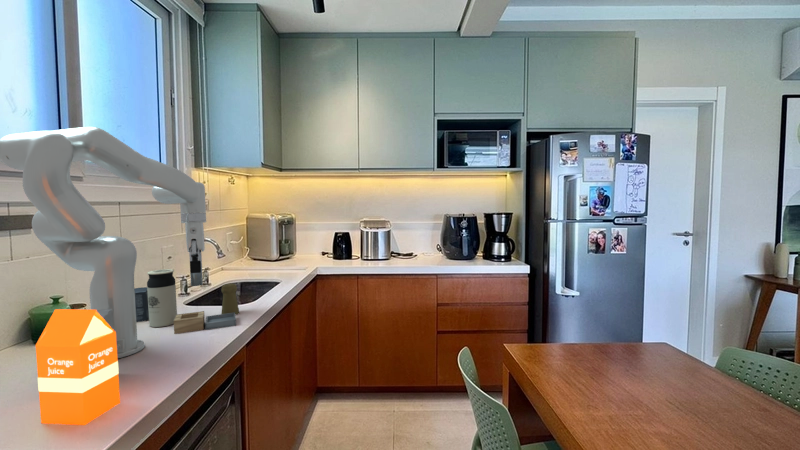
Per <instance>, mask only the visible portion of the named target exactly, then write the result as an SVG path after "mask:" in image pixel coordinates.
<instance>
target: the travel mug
mask: <svg viewBox="0 0 800 450" xmlns="http://www.w3.org/2000/svg"><path fill="white" fill-rule="evenodd" d="M174 272H175V270H174V269H172V268H170V269H168V268H167V269H156V270H150V271H148V272H147V276H148V280H147V282H146V287H147V292H148V310H149V319H148V324H149V327H152V328H163V327H169V326H172V325H174V319H175V317H176V315H177V314H178V310H177V309H178V304H177V288H176V285H177V284H176V278H175V277H174V276H173V275H174Z"/></svg>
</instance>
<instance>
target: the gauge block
mask: <svg viewBox="0 0 800 450" xmlns="http://www.w3.org/2000/svg"><path fill="white" fill-rule="evenodd" d="M205 320H206V317H205V310H202V311H194V312H185V313H177V315H176V317H175V319H174V324H173V333H174V335H176V334H182V333H183V334H184V333H189V332H190V333H191V332H195V331H196V332H197V331H203V330H205Z"/></svg>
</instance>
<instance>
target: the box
mask: <svg viewBox="0 0 800 450" xmlns="http://www.w3.org/2000/svg"><path fill="white" fill-rule="evenodd" d="M134 291H135V307H136V323H137V322H138V323H140V322H148V321H149V310H148V292H147V286H146V287H136V288H135V287H134Z"/></svg>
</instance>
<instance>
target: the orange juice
mask: <svg viewBox="0 0 800 450" xmlns="http://www.w3.org/2000/svg"><path fill="white" fill-rule="evenodd" d="M34 347H35V354H36V356H35V357H36V368H37V371H36V372H37V388H38V389H37V390H38V397H39V411H40V423H41V424H46V425H72V426H73V425H74V426H86V425H88V424H89V423H91V422H92V421H93V420H95V419H97V418H99V417H101V416H102V415H103V414H105V413H107V412H109V411H110V410H111V409H113V408H114V407H116V406H118V405H119V404H121V395H120V393H121V392H120V377H119V373H120V372H119V371H120V369H119V358H117V342H116V332H115V331H114V330H113V329H112V328H111V327H110V326H109V324H108V323H107V322H106V321H105V320H104V319H103V318H102V317H101V315H100V314H99V313H98V312H97V311H96V310H91V309H78V308H77V309H71V308H70V309H69V308H68V309H67V308H65V309H64V308H62V309H60V308H59V309H55V308H54V311H53V313H52V315H51V316H50V318H49V320H48V321H47V323H46V326H45V328H43V331H42V333H41V335H40V336H39V338H38V340H37V342H36V343H35V346H34Z"/></svg>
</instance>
